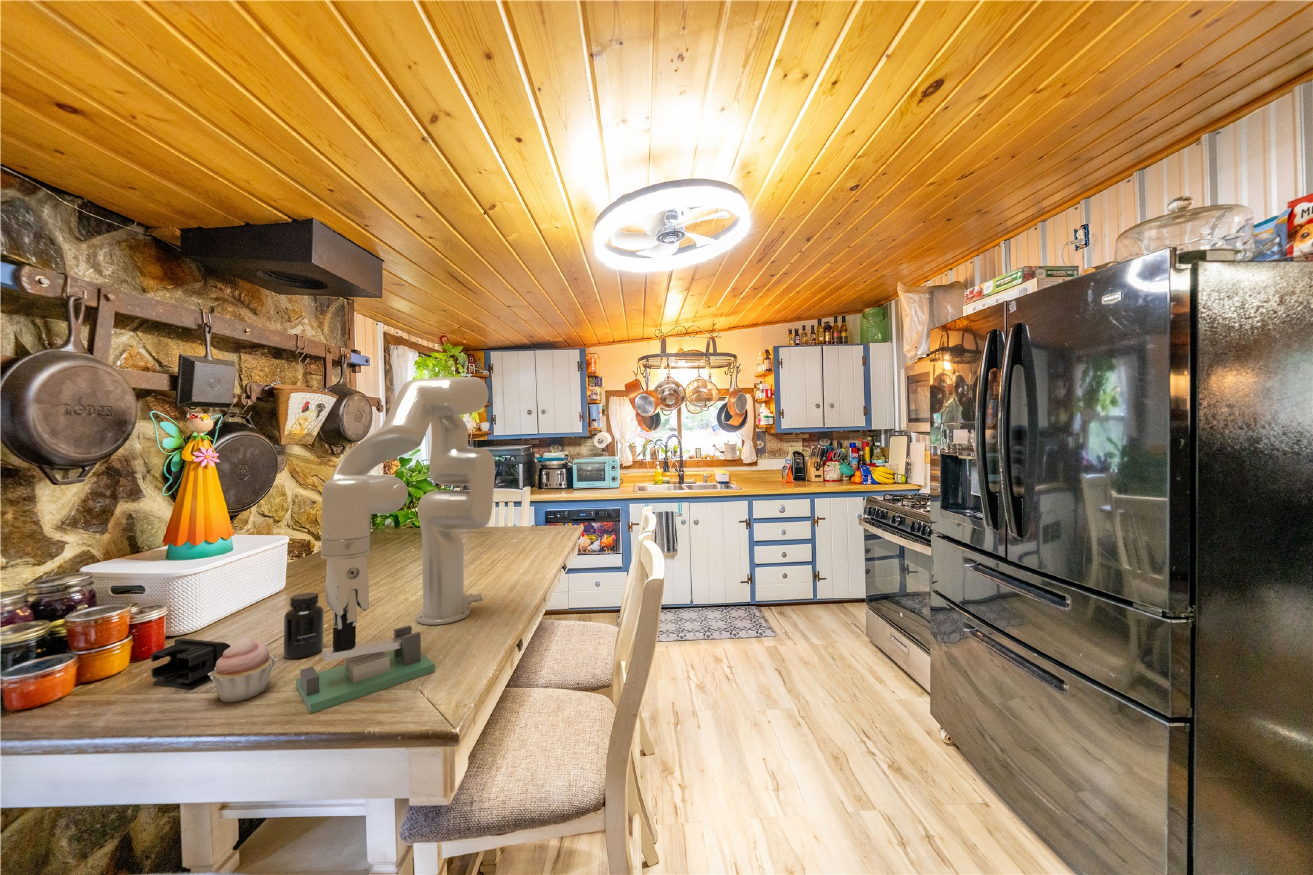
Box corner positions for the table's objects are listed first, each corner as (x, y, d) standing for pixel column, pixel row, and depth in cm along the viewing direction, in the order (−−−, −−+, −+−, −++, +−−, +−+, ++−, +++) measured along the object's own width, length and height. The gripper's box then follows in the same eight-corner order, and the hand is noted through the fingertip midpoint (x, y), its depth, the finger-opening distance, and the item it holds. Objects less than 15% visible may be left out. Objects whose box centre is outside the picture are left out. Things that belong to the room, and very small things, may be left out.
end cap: (233, 671, 96) (233, 637, 96) (193, 690, 89) (192, 653, 89) (192, 667, 98) (192, 632, 98) (149, 684, 91) (149, 648, 91)
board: (412, 652, 104) (412, 619, 104) (434, 671, 96) (434, 635, 95) (296, 686, 90) (295, 648, 90) (310, 713, 81) (310, 671, 81)
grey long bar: (408, 642, 99) (409, 634, 99) (413, 647, 97) (414, 638, 97) (321, 656, 89) (322, 647, 89) (325, 662, 87) (326, 652, 87)
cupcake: (259, 676, 94) (258, 623, 94) (287, 687, 90) (287, 632, 90) (196, 700, 85) (196, 642, 85) (225, 713, 81) (224, 652, 81)
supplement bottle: (303, 661, 100) (302, 602, 100) (275, 658, 101) (274, 599, 101) (331, 646, 107) (331, 591, 106) (305, 644, 108) (304, 589, 108)
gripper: (381, 549, 87) (380, 655, 87) (357, 538, 98) (356, 632, 97) (331, 556, 82) (329, 668, 81) (312, 543, 92) (310, 643, 92)
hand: (344, 648), depth 89 cm, fingers closed
